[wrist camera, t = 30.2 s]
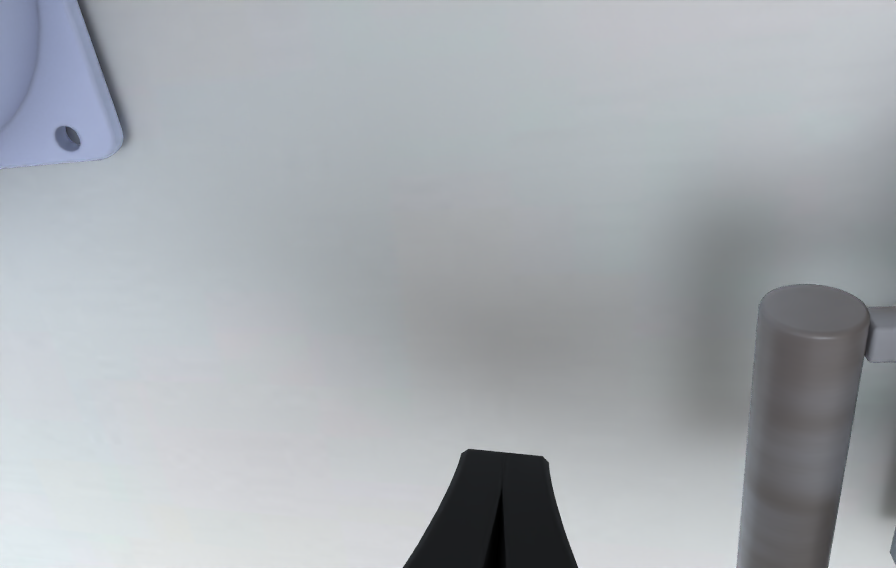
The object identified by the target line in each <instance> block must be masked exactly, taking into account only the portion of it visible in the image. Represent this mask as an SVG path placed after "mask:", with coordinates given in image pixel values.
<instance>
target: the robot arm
mask: <svg viewBox="0 0 896 568" xmlns="http://www.w3.org/2000/svg"><path fill="white" fill-rule="evenodd" d="M66 126H67V127H70V128H71V129H73V130H74V131H76V133H77V135H78V136H79V138H80V145H79V144H76V143H74V142H73V141H72V140H70V138H69V137H68V135H67V133H66ZM123 139H124V138H123V132H122V128H121V125H120V122H119V119H118V116H117V113H116V110H115V108H114V105H113V102H112V99H111V96H110V93H109V90H108V88H107V85H106V82H105V79H104V76H103V73H102V70H101V68H100V65H99V62H98V59H97V56H96V53H95V50H94V48H93V45H92V42H91V39H90V36H89V33H88V30H87V28H86V25H85V22H84V19H83V16H82V13H81V10H80V8H79V5H78V2H77V0H0V169H3V168H15V167H26V166H37V165H49V164H60V163H72V162H83V161H94V160H102V159H105V158H108V157H110V156H111V155H113V154H114V153H116V152H117V151H118V150H119V149H120V147H121V146H122V142H123ZM403 568H578V566H577V563H576V561H575V558H574V555H573V553H572V550H571V547H570V544H569V542H568V539H567V536H566V533H565V530H564V527H563V524H562V521H561V517H560V514H559V510H558V507H557V503H556V500H555V496H554V492H553V487H552V482H551V477H550V471H549V462H548V461H547V460H546V459H545V458H544V457H543V456H535V455H525V454H515V453H505V452H495V451H485V450H475V449H468V450H466V451H465V452H463V453H461V457H460V460H459V463H458V466H457V469H456V471H455V474H454V476H453V479H452V481H451V483H450V485H449V488H448V490H447V492H446V494H445V496H444V498H443V500H442V502H441V504H440V506H439V508H438V510H437V512H436V513H435V515H434V517H433V519H432V520H431V522H430V524H429V526H428V527H427V529H426V531H425V533H424V535H423V536H422V538H421V540H420V542H419V543H418V545H417V547H416V548H415V550H414V551H413V553H412V555H411V556H410V558H409V559H408V561H407V562H406V564H405V565H404V567H403Z"/></svg>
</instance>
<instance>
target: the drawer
mask: <svg viewBox="0 0 896 568" xmlns="http://www.w3.org/2000/svg"><path fill="white" fill-rule="evenodd" d="M864 355H865V357H866V358H867V360H868V361H869V362H873V363H879V362H896V306H887V307H866V305H865V304H864V303H863V302H862V301H861V300H860V299H858V298H857V297H855V296H853V295H852V294H850V293H847V292H845V291H842V290H840V289H836V288H833V287H828V286H823V285H814V284H796V285H788V286H783V287H780V288H777V289H774V290H772V291H770V292H769V293H767V294H766V295H765V296H764V297H763V298H762V300H761V302H760V304H759V307H758V319H757V330H756V342H755V354H754V366H753V378H752V390H751V401H750V413H749V425H748V437H747V449H746V461H745V473H744V484H743V496H742V508H741V520H740V532H739V544H738V555H737V567H736V568H828V565H829V559H830V554H831V548H832V542H833V536H834V530H835V524H836V518H837V513H838V507H839V501H840V495H841V489H842V483H843V477H844V472H845V466H846V460H847V454H848V448H849V442H850V437H851V431H852V425H853V419H854V413H855V407H856V401H857V396H858V390H859V384H860V378H861V372H862V366H863V360H864ZM890 554H891V556H892V558H893V560H894V562H895V564H896V527H895V532H894V536H893V540H892V545H891V549H890Z"/></svg>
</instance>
